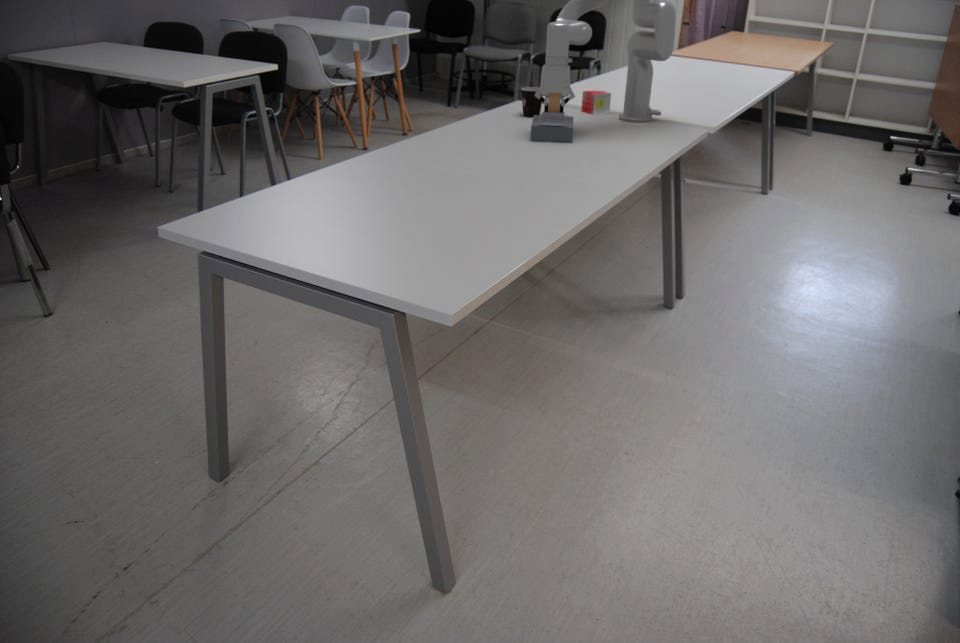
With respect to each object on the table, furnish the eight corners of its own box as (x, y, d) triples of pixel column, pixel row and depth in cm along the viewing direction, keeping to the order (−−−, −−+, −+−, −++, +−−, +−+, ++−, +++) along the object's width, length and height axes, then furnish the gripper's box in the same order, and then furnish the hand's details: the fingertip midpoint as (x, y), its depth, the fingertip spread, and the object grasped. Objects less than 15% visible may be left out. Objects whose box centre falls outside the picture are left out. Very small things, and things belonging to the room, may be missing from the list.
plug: (559, 123, 256) (561, 93, 251) (546, 122, 256) (547, 93, 252) (560, 120, 260) (562, 91, 256) (546, 119, 261) (548, 90, 256)
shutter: (564, 121, 254) (564, 112, 252) (563, 126, 247) (564, 116, 246) (541, 120, 254) (542, 111, 253) (540, 125, 248) (541, 116, 246)
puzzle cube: (593, 115, 290) (594, 94, 287) (581, 111, 296) (582, 91, 293) (609, 113, 294) (611, 93, 290) (597, 110, 300) (599, 89, 296)
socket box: (572, 130, 265) (573, 115, 262) (572, 142, 249) (573, 126, 246) (533, 129, 266) (533, 113, 264) (530, 140, 250) (531, 124, 248)
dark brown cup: (543, 118, 283) (544, 91, 279) (520, 117, 283) (521, 90, 279) (541, 112, 294) (542, 86, 289) (519, 111, 294) (520, 85, 289)
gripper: (581, 60, 252) (577, 115, 260) (532, 59, 253) (530, 113, 262) (581, 64, 245) (577, 120, 253) (531, 62, 247) (528, 118, 255)
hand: (553, 116), depth 257 cm, fingers closed on plug, 3 cm apart
